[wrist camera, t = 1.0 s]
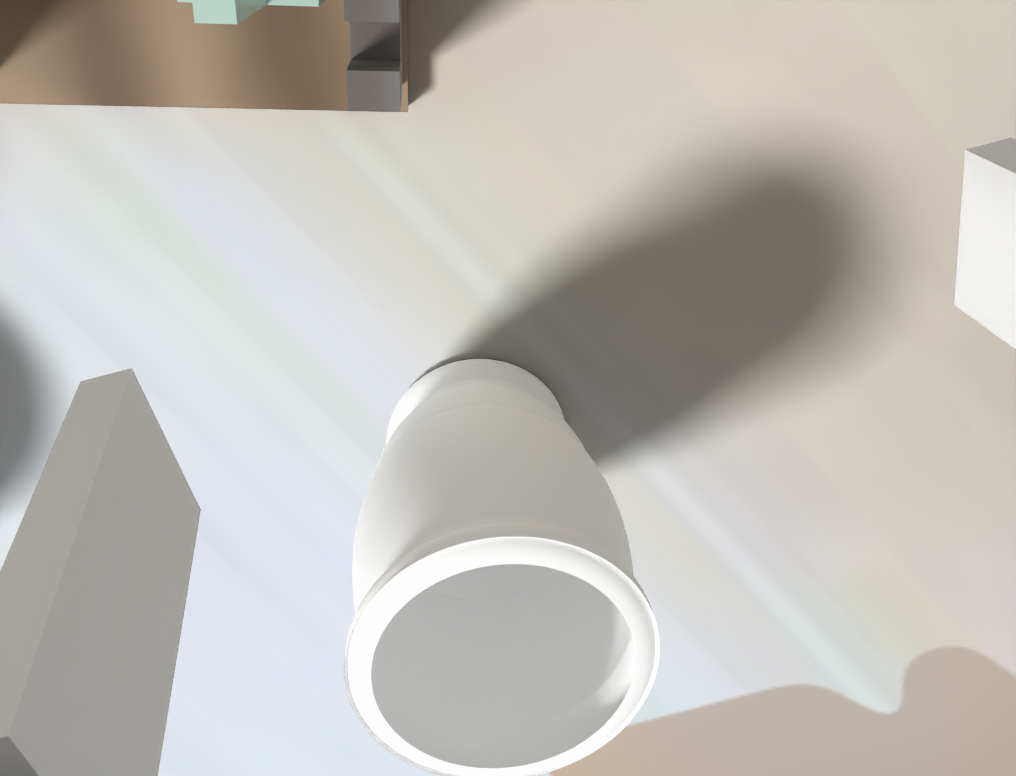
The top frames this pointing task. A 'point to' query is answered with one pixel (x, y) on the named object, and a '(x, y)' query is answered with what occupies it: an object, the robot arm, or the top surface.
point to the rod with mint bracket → (205, 55)
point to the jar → (493, 585)
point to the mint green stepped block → (236, 9)
